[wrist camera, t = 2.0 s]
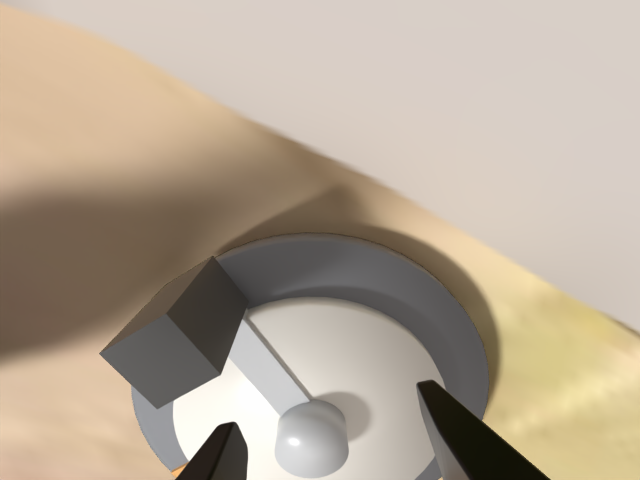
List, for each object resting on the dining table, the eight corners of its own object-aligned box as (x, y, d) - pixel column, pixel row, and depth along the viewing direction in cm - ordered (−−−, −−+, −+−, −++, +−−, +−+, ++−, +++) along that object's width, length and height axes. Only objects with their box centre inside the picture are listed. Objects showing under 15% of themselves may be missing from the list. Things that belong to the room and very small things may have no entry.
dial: (481, 440, 20) (542, 550, 15) (277, 528, 23) (266, 650, 18) (326, 183, 15) (332, 213, 10) (78, 337, 17) (-28, 429, 12)
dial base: (69, 347, 20) (47, 366, 18) (379, 155, 16) (386, 158, 15) (270, 535, 26) (267, 561, 24) (524, 426, 23) (540, 448, 21)
